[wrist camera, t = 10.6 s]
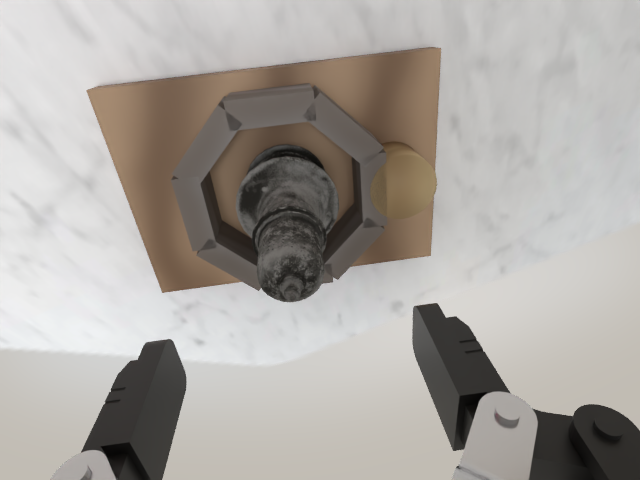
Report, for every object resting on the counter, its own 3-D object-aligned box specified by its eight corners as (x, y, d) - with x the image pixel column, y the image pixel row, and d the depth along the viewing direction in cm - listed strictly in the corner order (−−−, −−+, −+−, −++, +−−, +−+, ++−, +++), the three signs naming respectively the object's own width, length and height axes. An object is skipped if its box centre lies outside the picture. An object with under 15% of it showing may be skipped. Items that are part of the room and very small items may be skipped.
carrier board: (431, 47, 23) (463, 51, 19) (423, 245, 30) (445, 278, 26) (97, 86, 23) (59, 99, 19) (167, 280, 29) (150, 319, 26)
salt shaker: (339, 213, 26) (379, 337, 16) (256, 233, 27) (242, 369, 16) (321, 129, 23) (354, 213, 13) (228, 152, 24) (187, 254, 13)
